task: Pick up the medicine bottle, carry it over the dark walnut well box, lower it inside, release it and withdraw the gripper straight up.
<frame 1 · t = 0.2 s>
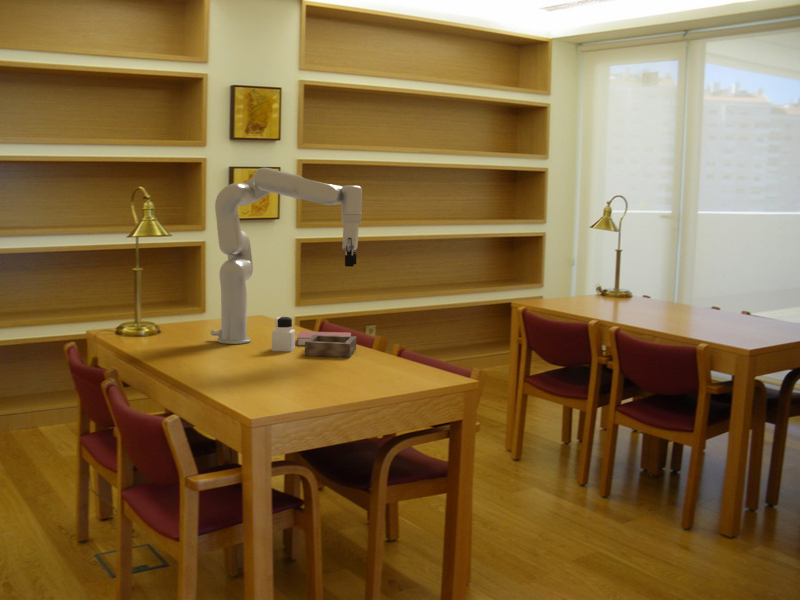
hand: (350, 265, 311), 31 cm above the table, fingers open, 9 cm apart
walnut well: (331, 352, 302), on the table
pink flat slab: (324, 342, 322), on the table
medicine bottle: (283, 350, 305), on the table
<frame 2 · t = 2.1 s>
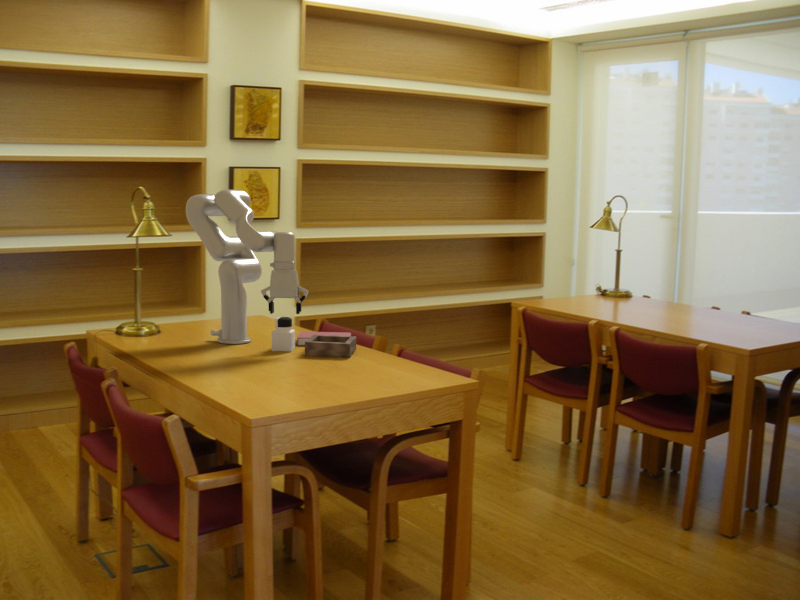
hand: (285, 313, 303), 13 cm above the table, fingers open, 9 cm apart
nothing on the table moved.
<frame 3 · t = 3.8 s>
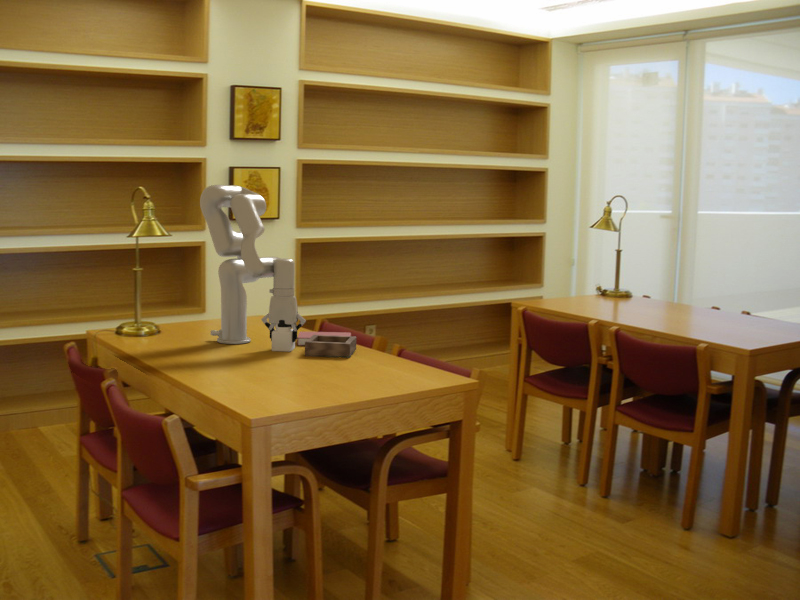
hand: (283, 340, 305), 3 cm above the table, fingers closed on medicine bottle, 7 cm apart
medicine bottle: (283, 350, 305), on the table, touching gripper
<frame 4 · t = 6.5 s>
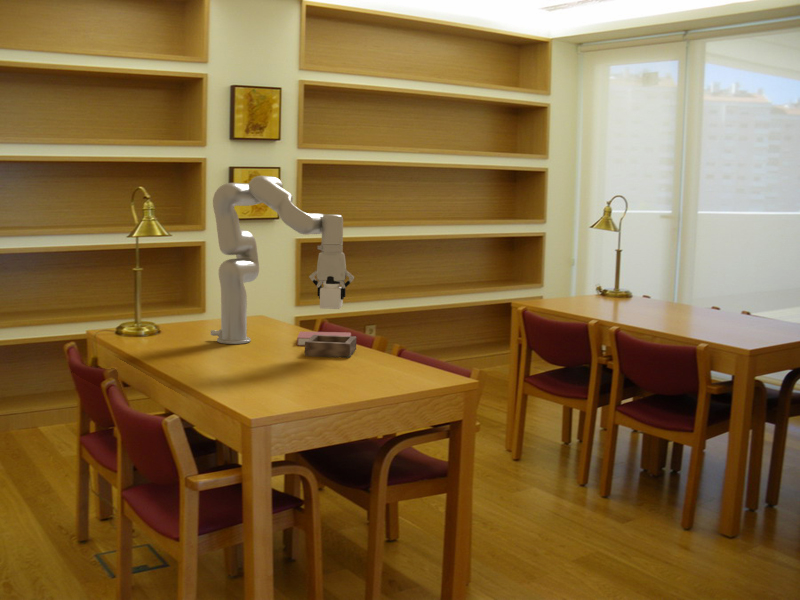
hand: (331, 298, 299), 20 cm above the table, fingers closed on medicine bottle, 7 cm apart
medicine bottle: (331, 308, 300), point 16 cm above the table, touching gripper
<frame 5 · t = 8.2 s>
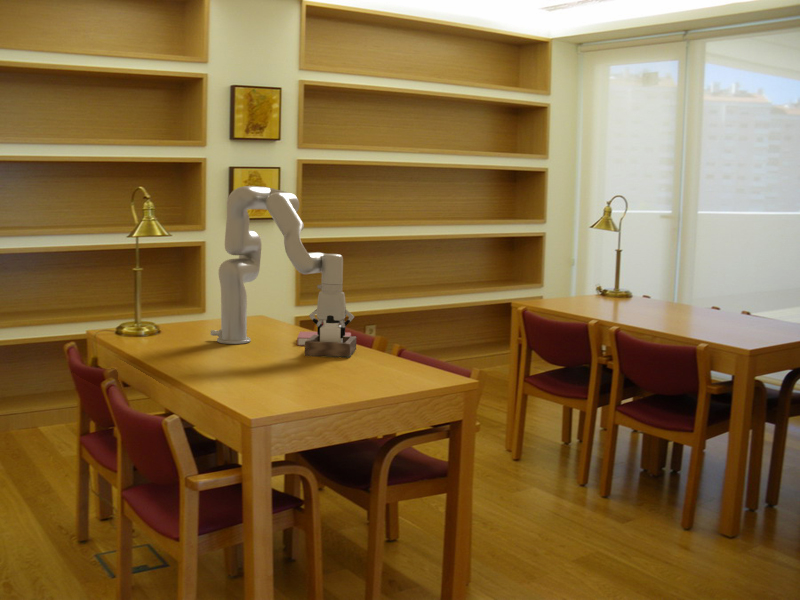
hand: (331, 337, 301), 6 cm above the table, fingers closed on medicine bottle, 7 cm apart
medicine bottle: (331, 346, 301), point 2 cm above the table, touching gripper
when the fingers open (5 cm above the table, at t = 9.2 s): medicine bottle drops 1 cm, resting on walnut well.
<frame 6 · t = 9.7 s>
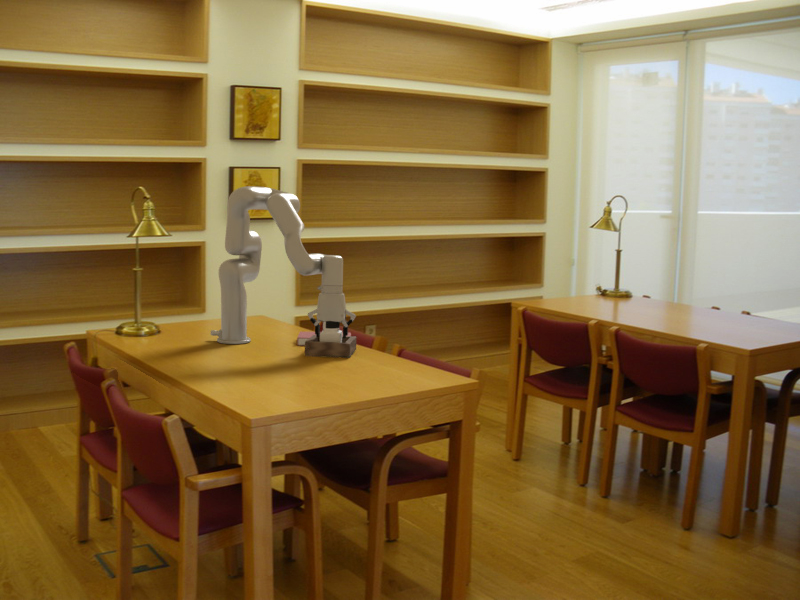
hand: (331, 336, 301), 6 cm above the table, fingers open, 9 cm apart
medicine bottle: (330, 351, 302), resting on walnut well
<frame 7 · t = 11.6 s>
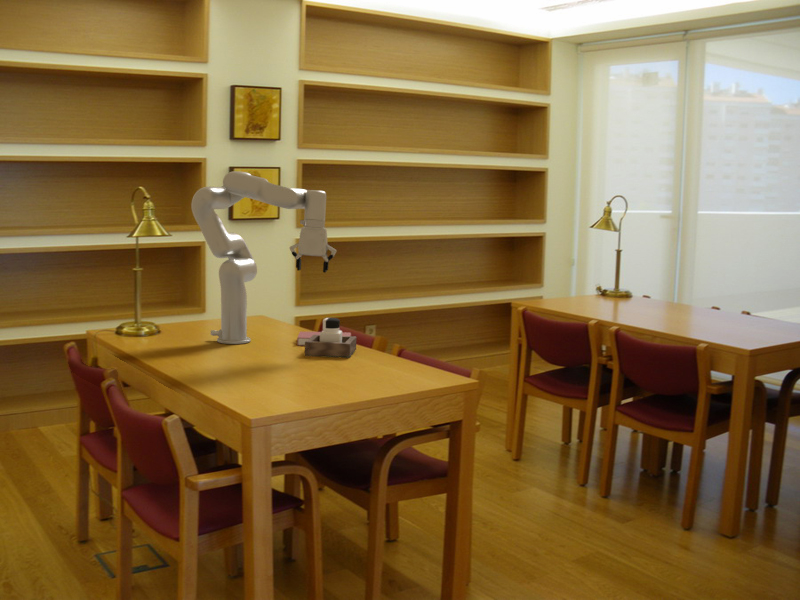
hand: (311, 271, 306), 29 cm above the table, fingers open, 9 cm apart
nothing on the table moved.
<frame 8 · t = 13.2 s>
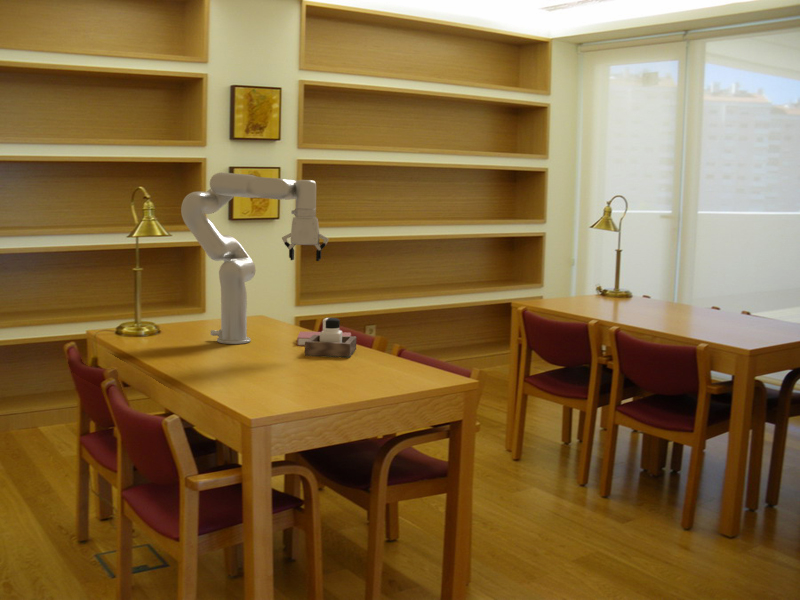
hand: (305, 260, 309), 32 cm above the table, fingers open, 9 cm apart
nothing on the table moved.
at the end: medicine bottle inside the target area on the walnut well (0.1 cm from its centre), point 0.4 cm above the walnut well's base; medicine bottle tilted 0°; the gripper is holding nothing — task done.
